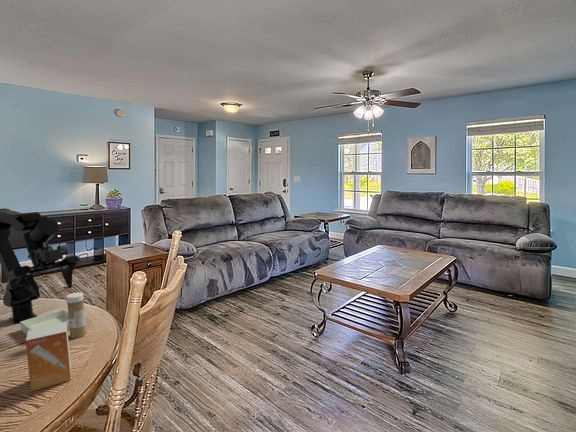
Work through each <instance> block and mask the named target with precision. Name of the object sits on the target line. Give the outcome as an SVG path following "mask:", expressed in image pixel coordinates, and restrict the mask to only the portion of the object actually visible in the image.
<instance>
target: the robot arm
mask: <svg viewBox="0 0 576 432" xmlns="http://www.w3.org/2000/svg"><path fill="white" fill-rule="evenodd" d="M11 229H13V230H15V231H16V232H19V233H20V232H26V231H27V232H26V233H23V236H22V237H21V240H20V241H21V242H23V243H24V246H25V248H26V250H27V254H28V255H27V258H28V259H29V260H30V261H31V263H32V267H30V266H29V265H23V266H21V264H20V261H19V259H18V257H17V255H16V253H15V251H14V248H13V247H12V244H11V242H10V239H9V237H10V234H11V232H12V231H11ZM59 229H60V227H59V224H58V223H57V222H56V221H54V220H52V219H51V218H49V217H48V215H41V213H40V212H38V211H35V212H33V211H31V212H21V211H20V212H19V211H16V210H11V209H10V208H0V265H1V268H2V270H3V272H4V275H5V276H6V278H7V283H6V285H5V293H4V295H3V297H2V302H3V306H5V307H9V308H10V309H11V314H12V316H11V317H9V320H10V321H11V322H12V323H14V324H15V325H16V324H19V323H20V322H21V321H24V320H28V319H31V318H34V317H38V315H36V314H35V313H34V310H33V309H34V308H33V302H32V301H35V300H38V299H39V298H40V297H41V293H40V286H39V284H38V283H37V281H36V280H35V279H34V274H38V273H43V272H46V271H51V270H55V269H59V268H60V269H61V274H62V277H63V279H64V282H65V284H66V286H67V287H68V289H71V288H73V273H74V269H75V267H77V266H78V265H79V263H81V259H80V257H79V256H78V255H76V254H75V255H74V254H73V255H70V256H69V255H68V254H69V252H68V251H69V250H68V248H67V245H66V244H63V245H58V246H56V248H55V249H54V248H53V246H52V245H49V241H50V240H51V239H52V238H53V237H54V236H55V235H56V234H58V233H59ZM66 255H68V256H66ZM63 256H65V257H63ZM59 260H60V261H59Z"/></svg>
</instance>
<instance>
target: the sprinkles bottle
mask: <svg viewBox="0 0 576 432" xmlns="http://www.w3.org/2000/svg"><path fill="white" fill-rule="evenodd" d="M65 301H66V304H67V310H68V317H69V327H70V330H69V333H70V334H69V337H70V338H71V339H77V338H81V337H84V336H85V335H86V334H87V328H86V314H85V308H84V307H85V306H84V305H85V304H84V293H83V292H73V293H69V294H67V295H66V296H65Z"/></svg>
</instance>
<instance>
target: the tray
mask: <svg viewBox="0 0 576 432" xmlns="http://www.w3.org/2000/svg"><path fill="white" fill-rule="evenodd" d="M65 322H66V323H67V332H68V331H70V327H69V317H68V308H62V309H59V310H55V311H54V310H53V311H52V312H48V313H44V314H42V315H37V317H34V318H31V319H28V320H24V321H21V322H20V330H21V332H22V333H24V334H25V335H27V333H28V330H33V329H38V328H42V327H46V326H51V325H57V324H61V323H65Z"/></svg>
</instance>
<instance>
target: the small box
mask: <svg viewBox="0 0 576 432" xmlns="http://www.w3.org/2000/svg"><path fill="white" fill-rule="evenodd" d="M68 333H69V332H68V331H67V323H66V322H65V323H61V324H57V325H51V326H46V327H42V328H38V329H33V330H28V333H27V334H26V338H25V349H26V357H27V367H28V368H27V369H28V375H29V384H30V392H34V391H38V390H42V389H46V388H48V387H52V386H54V385H58V384H62V383H67V382H71V381H72V365H71V355H70V344H69V334H68Z"/></svg>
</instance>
